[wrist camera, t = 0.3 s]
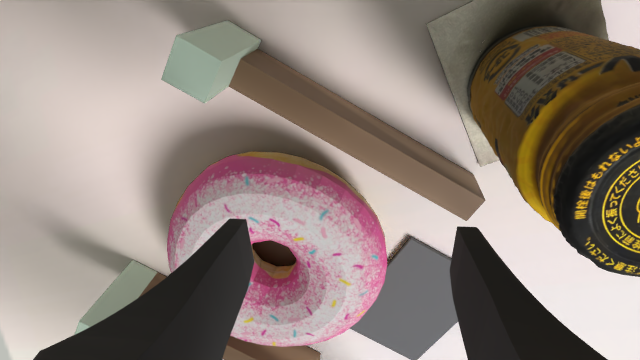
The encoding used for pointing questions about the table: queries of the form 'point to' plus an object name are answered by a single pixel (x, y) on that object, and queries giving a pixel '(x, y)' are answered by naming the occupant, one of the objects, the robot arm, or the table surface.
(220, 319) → the robot arm
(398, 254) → the grey flat panel
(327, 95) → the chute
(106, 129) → the table surface
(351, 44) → the table surface
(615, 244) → the condiment
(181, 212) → the donut
